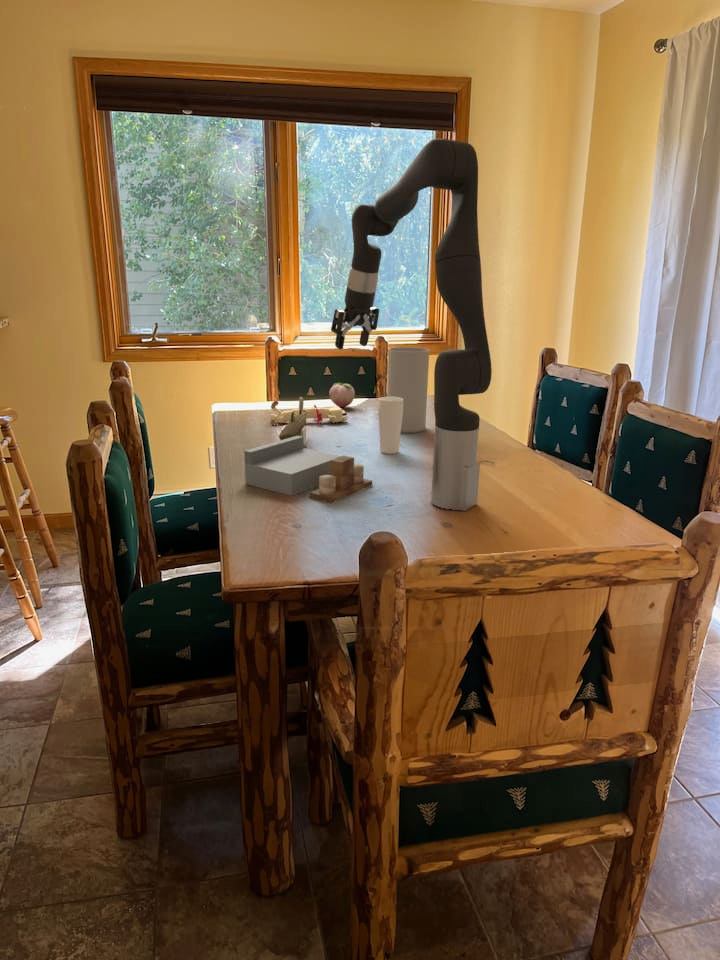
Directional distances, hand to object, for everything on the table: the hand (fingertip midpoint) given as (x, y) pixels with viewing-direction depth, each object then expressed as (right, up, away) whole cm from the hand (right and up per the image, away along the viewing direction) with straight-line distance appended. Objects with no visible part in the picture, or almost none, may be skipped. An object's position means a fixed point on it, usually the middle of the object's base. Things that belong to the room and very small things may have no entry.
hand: (351, 346), depth 184 cm
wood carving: (-16, -27, +10) cm, 33 cm away
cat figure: (-14, -17, +40) cm, 46 cm away
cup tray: (-2, -39, -27) cm, 47 cm away
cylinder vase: (+17, -20, +34) cm, 43 cm away
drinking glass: (+11, -28, +6) cm, 31 cm away
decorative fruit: (-4, -10, +64) cm, 64 cm away
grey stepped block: (-13, -36, -20) cm, 43 cm away
